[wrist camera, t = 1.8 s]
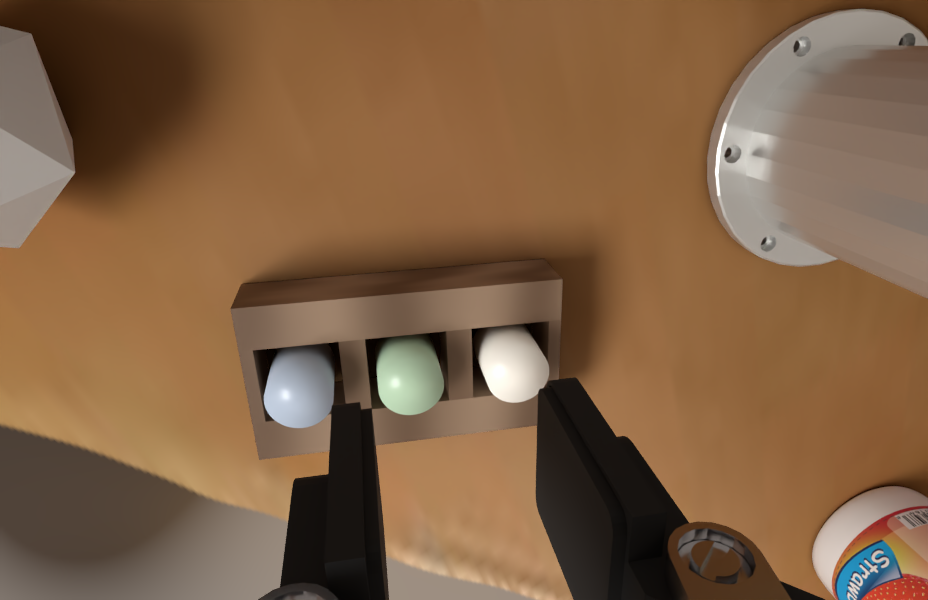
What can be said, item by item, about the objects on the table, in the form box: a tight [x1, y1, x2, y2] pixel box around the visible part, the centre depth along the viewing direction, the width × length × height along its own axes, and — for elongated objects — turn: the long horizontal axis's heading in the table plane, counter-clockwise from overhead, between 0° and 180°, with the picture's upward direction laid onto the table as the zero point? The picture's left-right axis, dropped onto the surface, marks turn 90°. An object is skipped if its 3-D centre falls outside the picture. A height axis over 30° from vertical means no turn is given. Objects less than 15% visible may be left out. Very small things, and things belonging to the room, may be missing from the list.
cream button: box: [473, 324, 549, 403], centre depth 31 cm, size 3×3×4 cm
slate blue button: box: [264, 343, 335, 428], centre depth 29 cm, size 3×3×4 cm
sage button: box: [375, 333, 444, 415], centre depth 30 cm, size 3×3×4 cm
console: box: [231, 259, 563, 460], centre depth 31 cm, size 15×8×3 cm, turn 92°
